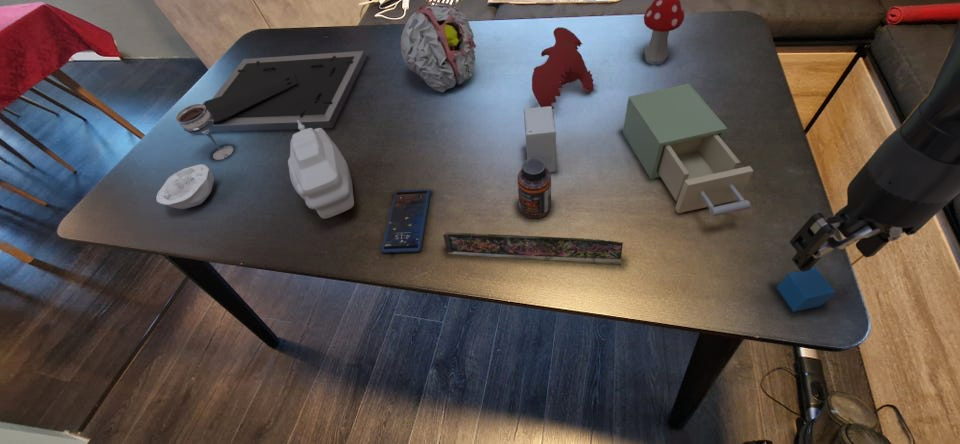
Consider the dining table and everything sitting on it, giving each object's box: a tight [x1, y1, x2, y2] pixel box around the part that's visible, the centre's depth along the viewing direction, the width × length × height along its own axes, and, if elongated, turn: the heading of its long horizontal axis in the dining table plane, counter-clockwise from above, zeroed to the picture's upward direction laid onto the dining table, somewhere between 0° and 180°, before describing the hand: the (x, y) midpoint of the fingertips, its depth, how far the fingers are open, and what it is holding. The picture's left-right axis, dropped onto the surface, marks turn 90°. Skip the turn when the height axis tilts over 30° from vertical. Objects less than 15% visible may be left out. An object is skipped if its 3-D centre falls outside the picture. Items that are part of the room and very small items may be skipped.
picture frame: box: [202, 50, 367, 134], centre depth 116 cm, size 31×4×39 cm
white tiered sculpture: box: [287, 120, 355, 220], centre depth 83 cm, size 11×18×16 cm, turn 24°
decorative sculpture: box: [399, 0, 477, 93], centre depth 107 cm, size 19×21×20 cm
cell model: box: [155, 163, 215, 210], centre depth 93 cm, size 10×12×7 cm
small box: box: [523, 105, 557, 173], centre depth 84 cm, size 8×6×10 cm
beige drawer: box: [657, 134, 754, 217], centre depth 74 cm, size 18×11×7 cm, turn 10°
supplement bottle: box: [516, 158, 552, 219], centre depth 76 cm, size 6×6×11 cm
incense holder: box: [442, 231, 624, 266], centre depth 72 cm, size 30×1×5 cm, turn 81°
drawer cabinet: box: [622, 83, 728, 180], centre depth 82 cm, size 14×12×9 cm
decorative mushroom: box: [643, 0, 685, 66], centre depth 99 cm, size 10×9×15 cm
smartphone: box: [380, 189, 431, 254], centre depth 83 cm, size 8×1×15 cm
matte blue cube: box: [776, 267, 836, 313], centre depth 62 cm, size 4×4×4 cm
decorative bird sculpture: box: [531, 26, 594, 110], centre depth 99 cm, size 28×9×15 cm
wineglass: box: [175, 103, 234, 161], centre depth 100 cm, size 7×7×12 cm
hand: (831, 258), depth 56 cm, fingers open, 8 cm apart
